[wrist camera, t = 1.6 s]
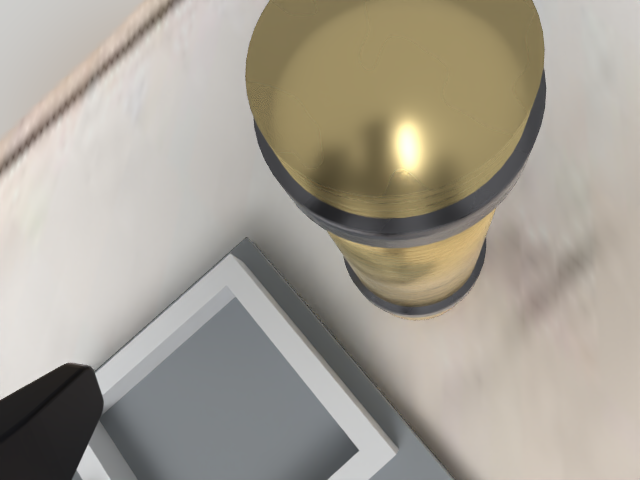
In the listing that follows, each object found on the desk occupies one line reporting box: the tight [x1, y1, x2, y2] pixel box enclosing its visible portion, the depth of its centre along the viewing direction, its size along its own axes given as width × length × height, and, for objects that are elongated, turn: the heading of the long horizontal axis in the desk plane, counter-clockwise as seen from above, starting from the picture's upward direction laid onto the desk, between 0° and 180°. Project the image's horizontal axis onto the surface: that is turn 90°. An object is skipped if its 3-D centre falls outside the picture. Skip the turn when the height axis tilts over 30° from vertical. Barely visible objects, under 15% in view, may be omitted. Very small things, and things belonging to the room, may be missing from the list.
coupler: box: [245, 0, 546, 320], centre depth 14 cm, size 4×4×14 cm
